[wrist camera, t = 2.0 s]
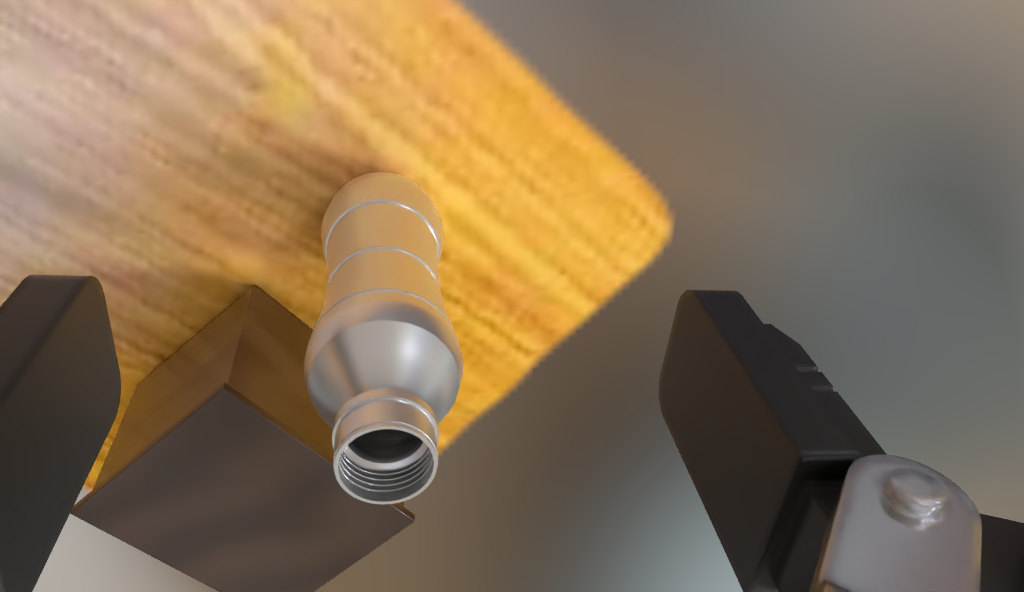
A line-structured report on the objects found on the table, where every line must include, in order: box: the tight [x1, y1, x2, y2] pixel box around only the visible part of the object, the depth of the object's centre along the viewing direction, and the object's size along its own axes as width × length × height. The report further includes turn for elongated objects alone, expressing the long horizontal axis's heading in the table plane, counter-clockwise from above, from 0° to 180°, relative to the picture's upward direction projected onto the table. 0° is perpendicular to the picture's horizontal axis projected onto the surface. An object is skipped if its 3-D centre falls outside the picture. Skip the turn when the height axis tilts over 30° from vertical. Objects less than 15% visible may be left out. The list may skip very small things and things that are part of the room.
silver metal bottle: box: [304, 172, 463, 504], centre depth 34 cm, size 6×7×20 cm
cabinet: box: [71, 286, 415, 592], centre depth 43 cm, size 13×12×11 cm
